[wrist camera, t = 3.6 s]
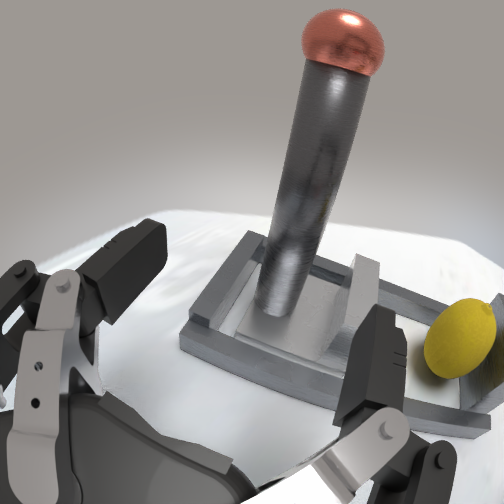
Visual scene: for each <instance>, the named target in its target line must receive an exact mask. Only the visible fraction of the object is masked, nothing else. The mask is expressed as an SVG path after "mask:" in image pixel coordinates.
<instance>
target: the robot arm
mask: <svg viewBox="0 0 504 504" xmlns="http://www.w3.org/2000/svg"><path fill="white" fill-rule="evenodd" d="M167 257H168V253H167V234H166V226H165V225H164V224H162V223H159V222H157V221H154V220H151V219H148V218H147V219H144V220H143V221H142V222H140V223H139V224H138V225H137V226H136V227H133V226H132V227H130V228H128V229H125V230H123V231H121V232H119V233H118V234H117V235H116V236H115V237H113V238H112V239H111V241H109V242H107V243H106V244H105V245H104V247H101V248H100V249H99V250H98V251H97V252H96V253H94V254H93V255H92V256H91V257H90V258H89V259H88V260H86V261H85V262H84V263H83V264H82V265H81V266H80V267H79V268H77V269H76V270H75V271H74V270H70V269H64V270H60V271H58V272H56V273H54V274H53V275H47V274H43V273H39V272H38V271H37V269H36V266H35V264H34V263H33V262H32V261H30V260H22V261H20V262H17V263H16V264H14V265H13V266H12V267H11V268H10V269H9V270H8V271H7V272H6V273H5V274H4V275H3V276H2V277H1V278H0V409H3V408H4V407H5V406H6V399H5V397H4V396H3V392H4V391H5V389H6V388H7V386H8V385H9V384H10V382H11V381H12V379H13V378H14V377H15V375H16V374H17V380H16V389H15V400H14V409H13V410H9V411H4V412H0V504H348V503H349V502H351V501H352V499H353V498H354V497H355V495H356V494H355V492H356V490H357V489H358V488H359V487H360V486H362V485H363V484H364V483H365V482H366V481H367V480H369V479H371V480H373V481H374V484H373V487H372V490H371V493H370V496H369V499H368V501H367V504H449V500H450V495H451V491H452V486H453V481H454V476H455V471H456V464H457V454H456V451H455V449H454V447H453V446H452V444H451V443H449V442H447V441H445V440H440V441H436V442H434V443H432V444H430V443H429V442H427V441H425V440H424V439H422V438H420V437H419V436H417V435H416V434H414V433H413V432H412V431H411V430H410V427H409V423H408V420H407V418H406V417H405V415H404V414H403V402H404V392H405V379H406V369H405V368H406V362H407V359H406V356H407V341H406V338H405V335H404V332H403V330H402V329H400V328H397V327H395V317H396V314H395V311H394V310H392V309H390V308H387V307H384V306H381V305H379V304H374V305H373V306H372V308H371V309H370V311H369V312H368V314H367V315H366V317H365V318H364V320H363V321H362V323H361V324H360V326H359V327H358V329H357V330H356V332H355V334H354V337H353V339H352V343H351V347H350V352H349V357H348V362H347V367H346V371H345V376H344V380H343V385H342V389H341V393H340V397H339V401H338V405H337V409H336V413H335V416H334V420H333V424H332V425H334V426H338V427H341V431H340V435H339V437H337V438H336V439H334V440H333V441H332V442H330V443H329V444H328V445H326V446H325V447H323V448H322V449H320V450H319V451H318V452H316V453H315V454H313V455H312V456H310V457H309V458H307V459H305V460H304V461H302V462H301V463H299V464H298V465H296V466H294V467H293V468H291V469H289V470H287V471H285V472H283V473H282V474H280V475H278V476H276V477H274V478H272V479H271V480H269V481H267V482H265V483H263V484H261V485H260V486H258V487H256V488H255V487H254V486H253V484H252V483H251V481H250V480H249V479H248V478H247V476H246V475H245V474H244V473H243V472H242V471H240V470H239V469H238V468H237V467H235V466H234V465H233V464H231V463H232V461H233V459H232V458H229V457H227V456H224V455H222V454H219V453H217V452H215V451H213V450H210V449H208V448H206V447H204V446H201V445H199V444H195V443H191V442H186V441H182V440H178V439H174V438H170V437H166V436H163V435H161V434H159V433H158V432H157V431H156V430H155V429H153V428H152V427H151V426H150V425H149V424H148V423H147V422H146V421H145V420H144V419H143V418H142V417H141V416H140V415H139V414H138V413H137V412H136V411H135V410H134V409H133V408H131V407H130V406H128V405H127V404H125V403H124V402H122V401H121V400H119V399H118V398H116V397H115V396H113V395H112V394H110V393H109V392H107V391H106V393H105V394H104V395H103V389H102V384H101V380H100V377H99V372H98V350H99V323H100V322H101V321H102V320H104V321H106V322H107V323H109V324H110V325H113V324H114V323H115V322H116V321H117V319H118V318H119V317H120V316H121V315H122V314H123V312H124V311H125V310H126V309H127V308H128V307H129V306H130V305H131V303H132V302H133V301H134V300H135V299H136V298H137V297H138V296H139V294H140V293H141V292H142V291H143V290H144V289H145V288H146V287H147V286H148V285H149V283H150V282H151V281H152V280H153V279H154V278H155V277H156V276H157V275H158V274H159V273H160V271H161V270H162V269H163V268H164V266H165V264H166V261H167ZM19 305H21V307H22V309H23V310H24V313H23V314H22V316H21V317H20V318H19V319H18V320H17V321H16V323H15V324H14V325H13V326H12V327H11V329H10V330H9V331H8V332H7V333H6V334H5V335H3V334H2V326H3V324H4V322H5V321H6V320H7V319H8V318H9V317H10V315H11V314H12V313H13V312H14V311H15V310H16V309H17V307H18V306H19Z"/></svg>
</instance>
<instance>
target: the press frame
mask: <svg viewBox="0 0 504 504" xmlns="http://www.w3.org/2000/svg"><path fill="white" fill-rule="evenodd" d="M267 240H268V237H265V236H264V235H261V234H258V233H255V232H252V231H249V230H248V231H247V233H246V234H245V235H244V237H243V238H242V239H241V241H240V242H239V243H238V245H237V246H236V247H235V249H234V250H233V251H232V253H231V254H230V255H229V257H228V258H227V259H226V261H225V262H224V263H223V265H222V266H221V267H220V269H219V270H218V271H217V273H216V274H215V275H214V277H213V278H212V279H211V281H210V282H209V283H208V285H207V286H206V287H205V289H204V290H203V291H202V293H201V294H200V296H199V297H198V298H197V300H196V301H195V302H194V304H193V305H192V306H191V308H190V309H189V320H188V322H187V323H186V324H185V326H184V327H183V329H182V330H181V331H180V333H179V338H180V348H181V350H183V351H185V352H187V353H190V354H192V355H194V356H196V357H198V358H200V359H202V360H204V361H206V362H208V363H210V364H213V365H215V366H217V367H219V368H221V369H224V370H226V371H228V372H231V373H233V374H235V375H238V376H240V377H242V378H245V379H247V380H249V381H252V382H254V383H257V384H259V385H262V386H264V387H267V388H270V389H272V390H275V391H278V392H280V393H283V394H286V395H288V396H291V397H294V398H297V399H300V400H303V401H306V402H309V403H312V404H315V405H318V406H321V407H324V408H327V409H331V410H334V411H336V409H337V405H338V401H339V397H340V393H341V389H342V385H343V380H344V379H341V378H338V377H335V376H332V375H329V374H326V373H323V372H320V371H317V370H314V369H312V368H309V367H306V366H303V365H300V364H298V363H295V362H292V361H290V360H287V359H284V358H282V357H279V356H276V355H274V354H271V353H269V352H266V351H264V350H261V349H259V348H256V347H254V346H251V345H249V344H247V343H244V342H242V341H239V340H237V339H235V338H232V337H230V336H228V335H225V334H223V333H221V332H219V331H217V330H218V328H219V326H220V325H221V323H222V322H223V320H224V318H225V317H226V315H227V313H228V312H229V310H230V309H231V307H232V305H233V304H234V302H235V300H236V299H237V297H238V295H239V294H240V292H241V290H242V289H243V287H244V286H245V284H246V282H247V281H248V279H249V277H250V276H251V274H252V272H253V271H254V269H255V267H256V266H257V264H258V262H259V263H262V262H263V257H264V253H265V248H266V244H267ZM348 270H349V267H347V266H345V265H342V264H339V263H337V262H334V261H331V260H329V259H326V258H323V257H320V256H318V255H315V258H314V261H313V263H312V266H311V269H310V271H309V274H308V275H311V276H314V277H317V278H319V279H322V280H325V281H327V282H330V283H333V284H335V285H338V286H341V284H342V282H343V280H344V278H345V276H346V274H347V272H348ZM377 304H379V305H381V306H384V307H387V308H390V309H392V310H394V311H395V313H397V314H399V315H402V316H405V317H408V318H410V319H413V320H416V321H419V322H421V323H424V324H427V325H430V326H432V324H433V323H434V321H435V320H436V319H437V317H438V316H439V315H440V314H441V313H442V312H443V311H444V310H445V309H447V308H448V307H449V306H448V305H446V304H443V303H441V302H438V301H436V300H433V299H431V298H428V297H426V296H423V295H420V294H418V293H415V292H413V291H410V290H408V289H405V288H402V287H400V286H397V285H395V284H392V283H390V282H387V281H384V280H382V279H379V287H378V302H377ZM490 305H491V307H492V312H493V314H494V316H495V320H496V337H495V341H494V343H493V346H492V347H491V349H490V351H489V353H488V354H487V356H486V357H485V359H484V360H483V361H482V362H481V363H480V364H479V365H478V366H477V367H476V368H475V369H473V370H472V371H471V372H469V373H468V374H466V375H464V376H462V377H460V409H455V408H450V407H445V406H440V405H436V404H431V403H427V402H423V401H419V400H414V399H410V398H407V397H404V402H403V414H404V415H405V417H406V418H407V420H408V423H409V427H410V430H415V431H421V432H426V433H432V434H439V435H446V436H453V437H461V438H470V439H475V438H477V437H479V436H481V435H483V434H484V433H486V432H488V431H490V430H491V415H488V414H487V413H488V412H490V411H491V410H493V409H494V408H496V407H497V406H499V405H500V404H501V403H503V402H504V295H502V294H500V293H498V294H497V296H496V297H495V298H494V300H493V301H492V302H491V303H490Z"/></svg>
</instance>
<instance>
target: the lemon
mask: <svg viewBox="0 0 504 504" xmlns="http://www.w3.org/2000/svg"><path fill="white" fill-rule="evenodd" d="M495 337H496V320H495V316H494V314H493V312H492V307H491V305H490V304H488V303H484V302H483V301H481V300H478V299H472V298H468V299H462V300H459V301H457V302H456V303H454V304H452V305H451V306H449V307H448V308H447V309H445V310H444V311H443V312H442V313H441V314H440V315H439V316H438V317H437V319H436V320H435V321H434V323H433V324H432V326H431V327H430V329H429V331H428V333H427V336H426V339H425V343H424V356H425V360H426V363H427V365H428V367H429V368H430V370H431V371H432V372H433V373H435V374H436V375H438V376H440V377H442V378H448V379H454V378H458V377H462V376H464V375H466V374H468V373H469V372H471V371H472V370H473V369H475V368H476V367H477V366H478V365H479V364H480V363H481V362H482V361H483V360H484V359H485V357H486V356H487V354H488V353H489V351H490V349H491V347H492V346H493V343H494V341H495Z"/></svg>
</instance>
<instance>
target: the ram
mask: <svg viewBox="0 0 504 504" xmlns="http://www.w3.org/2000/svg"><path fill="white" fill-rule="evenodd" d="M384 49H385V48H384V42H383V39H382V36H381V34H380V32H379V31H378V29H377V28H376V26H375V25H374V24H373V23H372V22H371V21H370V20H369V19H367V18H366V17H364V16H363V15H361V14H359V13H357V12H355V11H351V10H347V9H329V10H325V11H323V12H320V13H318V14H317V15H315V16H314V17H313V18H312V19H310V21H309V22H308V23H307V24H306V26H305V28H304V30H303V34H302V50H303V53H304V56H305V58H306V62H305V67H304V71H303V77H302V81H301V86H300V91H299V96H298V101H297V106H296V110H295V115H294V120H293V125H292V129H291V134H290V139H289V144H288V149H287V153H286V158H285V162H284V167H283V172H282V177H281V181H280V185H279V190H278V194H277V199H276V204H275V208H274V213H273V217H272V222H271V226H270V231H269V235H268V240H267V244H266V248H265V253H264V257H263V262H262V266H261V270H260V275H259V279H258V284H257V288H256V292H255V297H254V299H253V301H252V303H251V305H250V306H249V308H248V310H247V312H246V314H245V315H244V317H243V319H242V321H241V323H240V325H239V326H238V328H237V330H236V333H235V339H237V340H239V341H242V342H244V343H247V344H249V345H251V346H254V347H256V348H259V349H261V350H264V351H266V352H269V353H271V354H274V355H276V356H279V357H282V358H284V359H287V360H290V361H292V362H295V363H298V364H300V365H303V366H306V367H309V368H312V369H314V370H317V371H320V372H323V373H326V374H329V375H332V376H335V377H338V378H342V377H343V376H344V375H345V371H346V367H347V362H348V357H349V352H350V347H351V343H352V339H353V337H354V334H355V332H356V330H357V329H358V327H359V326H360V324H361V323H362V321H363V320H364V318H365V317H366V315H367V314H368V312H369V311H370V309H371V308H372V306H373V305H374V304H377V302H378V287H379V267H380V263H379V262H377V261H374V260H372V259H369V258H367V257H364V256H361V255H359V254H356V255H355V257H354V259H353V261H352V263H351V265H350V267H349V270H348V272H347V274H346V276H345V278H344V280H343V282H342V284H341V286H338V285H335V284H333V283H330V282H327V281H325V280H322V279H319V278H317V277H314V276H311V275H308V274H309V271H310V269H311V266H312V263H313V261H314V258H315V255H316V253H317V250H318V247H319V244H320V242H321V239H322V236H323V233H324V230H325V227H326V225H327V222H328V219H329V216H330V213H331V210H332V207H333V204H334V201H335V198H336V195H337V192H338V189H339V186H340V182H341V180H342V176H343V173H344V170H345V167H346V163H347V160H348V157H349V154H350V151H351V147H352V144H353V140H354V137H355V133H356V130H357V126H358V123H359V119H360V115H361V112H362V108H363V105H364V101H365V97H366V93H367V89H368V85H369V81H370V77H371V76H372V75H373V74H375V73H376V71H377V70H378V69H379V67H380V66H381V64H382V62H383V58H384V53H385V50H384Z"/></svg>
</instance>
